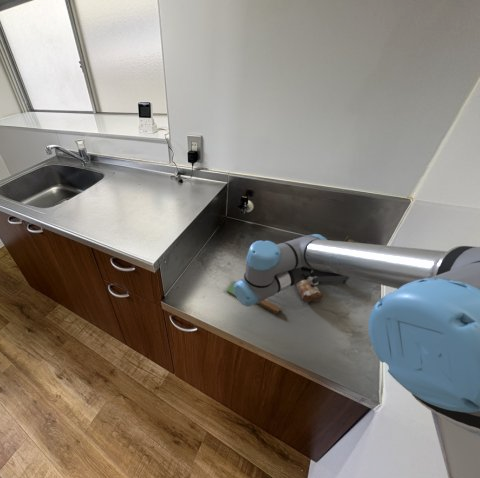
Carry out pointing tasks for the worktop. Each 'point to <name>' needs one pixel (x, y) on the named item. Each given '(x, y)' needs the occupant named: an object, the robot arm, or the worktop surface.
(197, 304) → the worktop surface
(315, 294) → the reddish brown tapered cylinder
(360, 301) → the worktop surface
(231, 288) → the spatula
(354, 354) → the worktop surface
